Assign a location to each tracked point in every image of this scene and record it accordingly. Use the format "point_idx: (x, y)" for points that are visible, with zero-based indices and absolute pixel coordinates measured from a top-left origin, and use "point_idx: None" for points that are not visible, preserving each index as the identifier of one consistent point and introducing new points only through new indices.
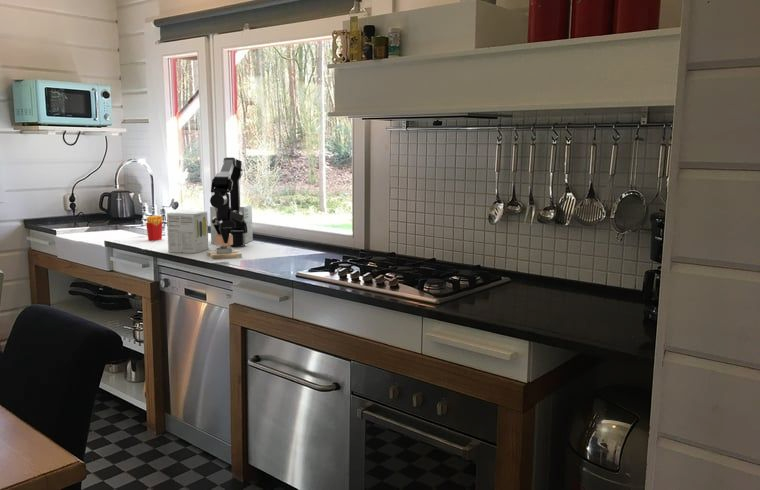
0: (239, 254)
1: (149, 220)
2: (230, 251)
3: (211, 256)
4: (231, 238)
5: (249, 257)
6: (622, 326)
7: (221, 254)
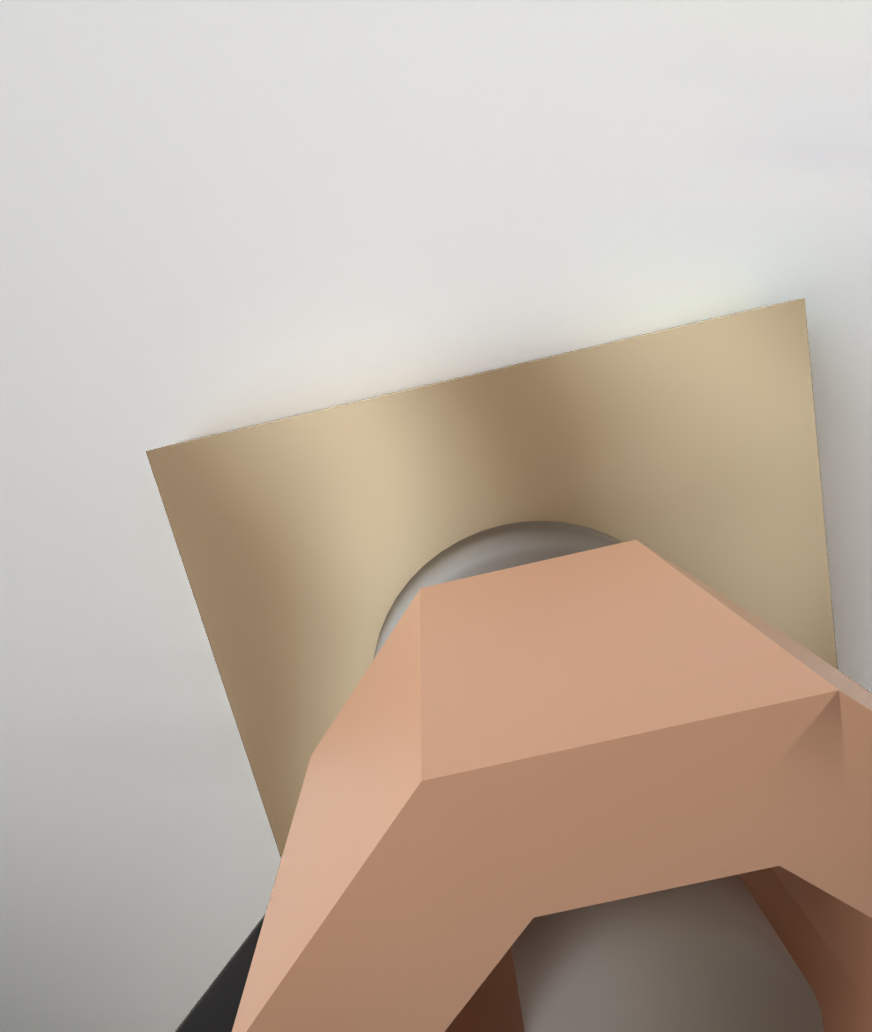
0: (800, 355)
1: None
2: None
3: None
4: (833, 679)
5: (829, 135)
6: None
7: None
